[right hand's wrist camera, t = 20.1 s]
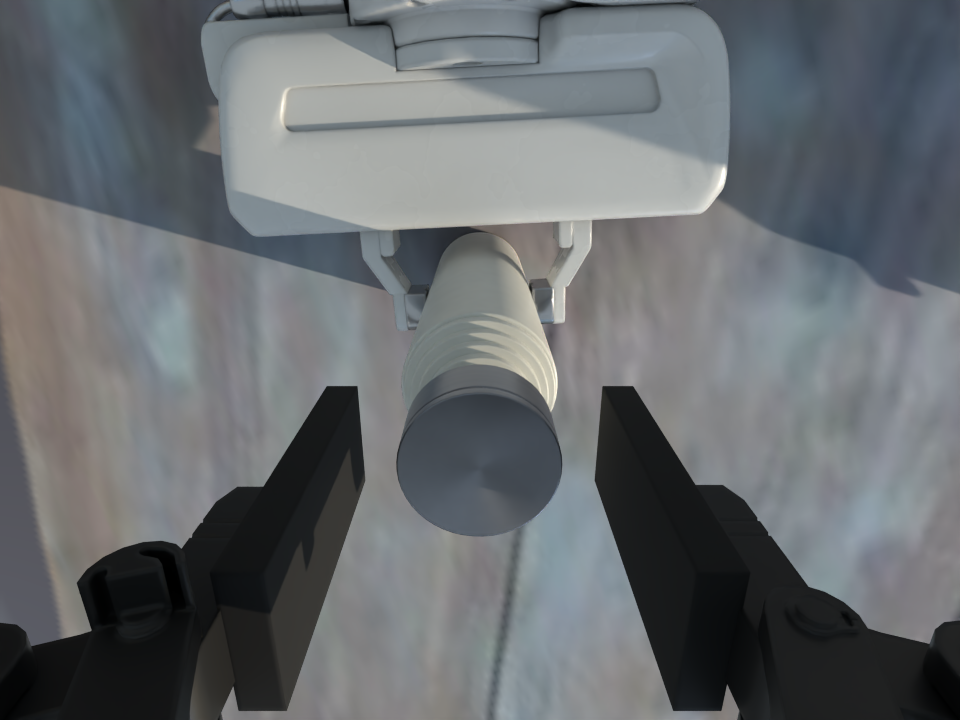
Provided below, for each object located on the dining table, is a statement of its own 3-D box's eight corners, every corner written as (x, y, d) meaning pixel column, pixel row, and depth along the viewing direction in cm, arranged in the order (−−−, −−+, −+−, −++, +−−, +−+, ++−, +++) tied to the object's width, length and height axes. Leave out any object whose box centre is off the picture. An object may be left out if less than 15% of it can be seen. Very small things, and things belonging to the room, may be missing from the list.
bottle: (488, 214, 31) (501, 320, 12) (538, 282, 32) (616, 471, 14) (420, 266, 32) (337, 436, 13) (471, 330, 33) (461, 566, 15)
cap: (561, 482, 15) (572, 524, 13) (422, 503, 15) (415, 547, 14) (541, 351, 14) (550, 380, 12) (390, 376, 14) (378, 408, 12)
